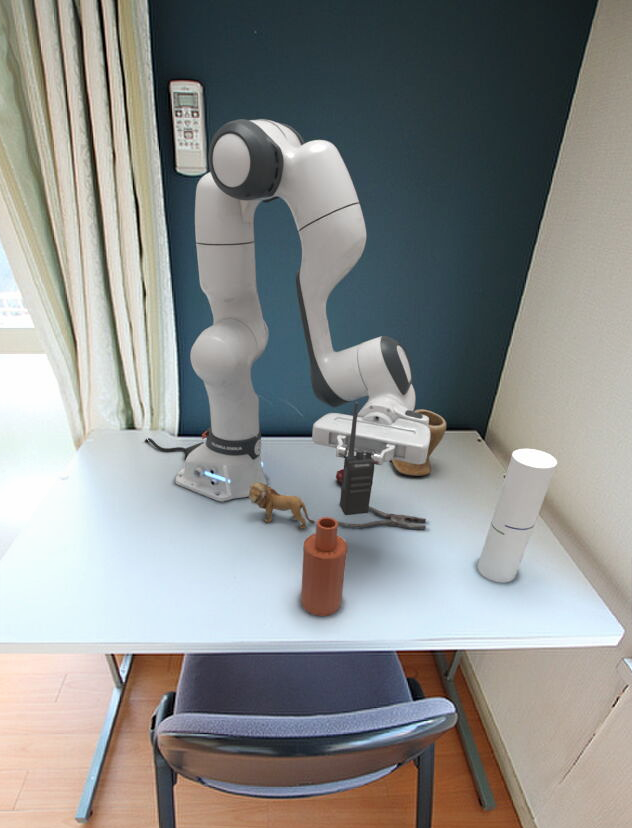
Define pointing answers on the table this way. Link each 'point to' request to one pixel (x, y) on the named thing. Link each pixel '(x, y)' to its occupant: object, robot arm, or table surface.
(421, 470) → the stone cup
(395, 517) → the pliers
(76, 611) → the table surface
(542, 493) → the cylindrical container
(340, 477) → the dice
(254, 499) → the lion figurine
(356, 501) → the walkie-talkie
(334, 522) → the bottle
